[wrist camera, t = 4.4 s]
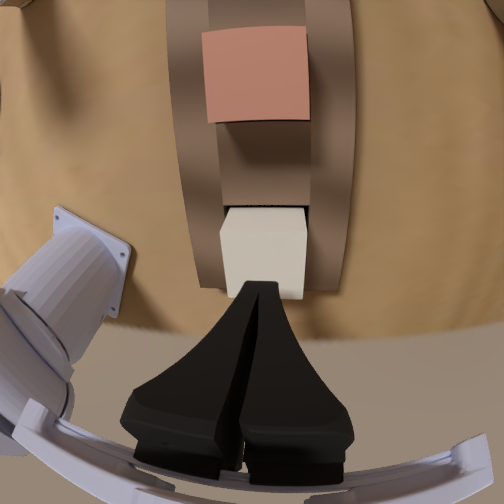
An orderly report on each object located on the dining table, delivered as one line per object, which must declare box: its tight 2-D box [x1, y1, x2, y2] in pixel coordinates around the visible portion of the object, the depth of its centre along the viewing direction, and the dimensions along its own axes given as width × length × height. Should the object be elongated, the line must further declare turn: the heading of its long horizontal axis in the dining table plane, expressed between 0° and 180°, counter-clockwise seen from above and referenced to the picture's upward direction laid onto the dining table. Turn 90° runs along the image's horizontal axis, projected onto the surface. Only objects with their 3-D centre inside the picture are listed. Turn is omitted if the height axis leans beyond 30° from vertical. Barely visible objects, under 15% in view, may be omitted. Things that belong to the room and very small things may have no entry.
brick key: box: [202, 26, 310, 123], centre depth 10 cm, size 4×4×3 cm
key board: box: [166, 0, 356, 291], centre depth 12 cm, size 25×9×2 cm, turn 3°
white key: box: [220, 207, 307, 299], centre depth 15 cm, size 4×4×3 cm
